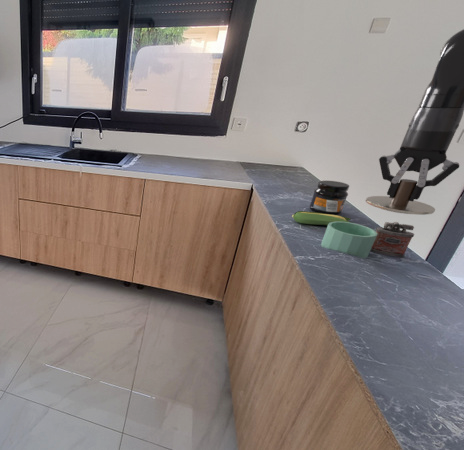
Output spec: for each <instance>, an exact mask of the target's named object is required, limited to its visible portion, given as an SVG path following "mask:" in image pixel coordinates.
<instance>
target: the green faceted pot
mask: <svg viewBox="0 0 464 450" xmlns="http://www.w3.org/2000/svg"><path fill="white" fill-rule="evenodd" d="M349 222H350V221H349ZM349 222H330V223H329V224H328V225H326V228H325V231H324V235H323V238H322V240H321V243H320V246H321V248H325V249H327V250H331V251H336V252H339V253H343V254H346V255H350V256H354V257H358V258H361V259H367V258H368V257H369V254H370V253H371V251H370V250H371V248H372V246H373V243H374V241H375V239H376V236H377V234H378V233H377V232H376V231H377V230H376V229H373V228H371V227H368V226H366V225H362V224H359V223H354V222H350V223H349Z"/></svg>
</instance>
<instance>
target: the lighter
mask: <svg viewBox="0 0 464 450" xmlns="http://www.w3.org/2000/svg"><path fill="white" fill-rule="evenodd" d="M414 229H415V226H414V225H413V224H405V223H399V221H398V222H397V221H393V222H388V221H384V224H383V227H382V226H381V227H380V226H378V227H377V228H376V229H375V231H376V232H377V233H378V234H377V236H376V239H375V241H374V243H373V246H372V248H371V250H370V252H372V253H376V254H381V255H385V256H390V257H397V258H404V257H405V255H406V251H407V249H408V247H409V246H410V245H409V244H410V242H411V241H412V238H414V236H415V233H414V232H411V231H414Z"/></svg>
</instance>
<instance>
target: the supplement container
mask: <svg viewBox="0 0 464 450" xmlns="http://www.w3.org/2000/svg"><path fill="white" fill-rule="evenodd" d="M349 188H350V185H349V184H348V183H346V182H343V181H336V180H320V181H318V184H317V187H316V188H315V189H314V192H313V195H312V198H311V201H310V204H309V210H310V211H311V212H316V213H324V214H330V215H337V216H339V215H340V214H341V213H342V211H343V208H344V206H345V203H346V200H347V197H348V196H349V193H348V191H349Z"/></svg>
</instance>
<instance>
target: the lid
mask: <svg viewBox="0 0 464 450" xmlns="http://www.w3.org/2000/svg"><path fill="white" fill-rule="evenodd" d="M416 185H418V180H416V179H415V180H414V179H408V178H401V179H400V180H399V185H398V187H397V190H396V192H395V194H394V197H393V198H389V197H390V195H371V196H368V197H366V199H365V203H366V204H368V205H370V206H372V207H375V208H378V209H381V210H384V211H387V212H392V213H397V214H404V215H405V214H406V215H421V216H422V215H423V216H425V215H432V214H434V213H435V211H436V208H435V207H434V206H432V205H430V204H427V203H425V202H422V201H417V200H414V201H409V200H410V198H411V196H412V193H413V191H414V189H415V187H416Z"/></svg>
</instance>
